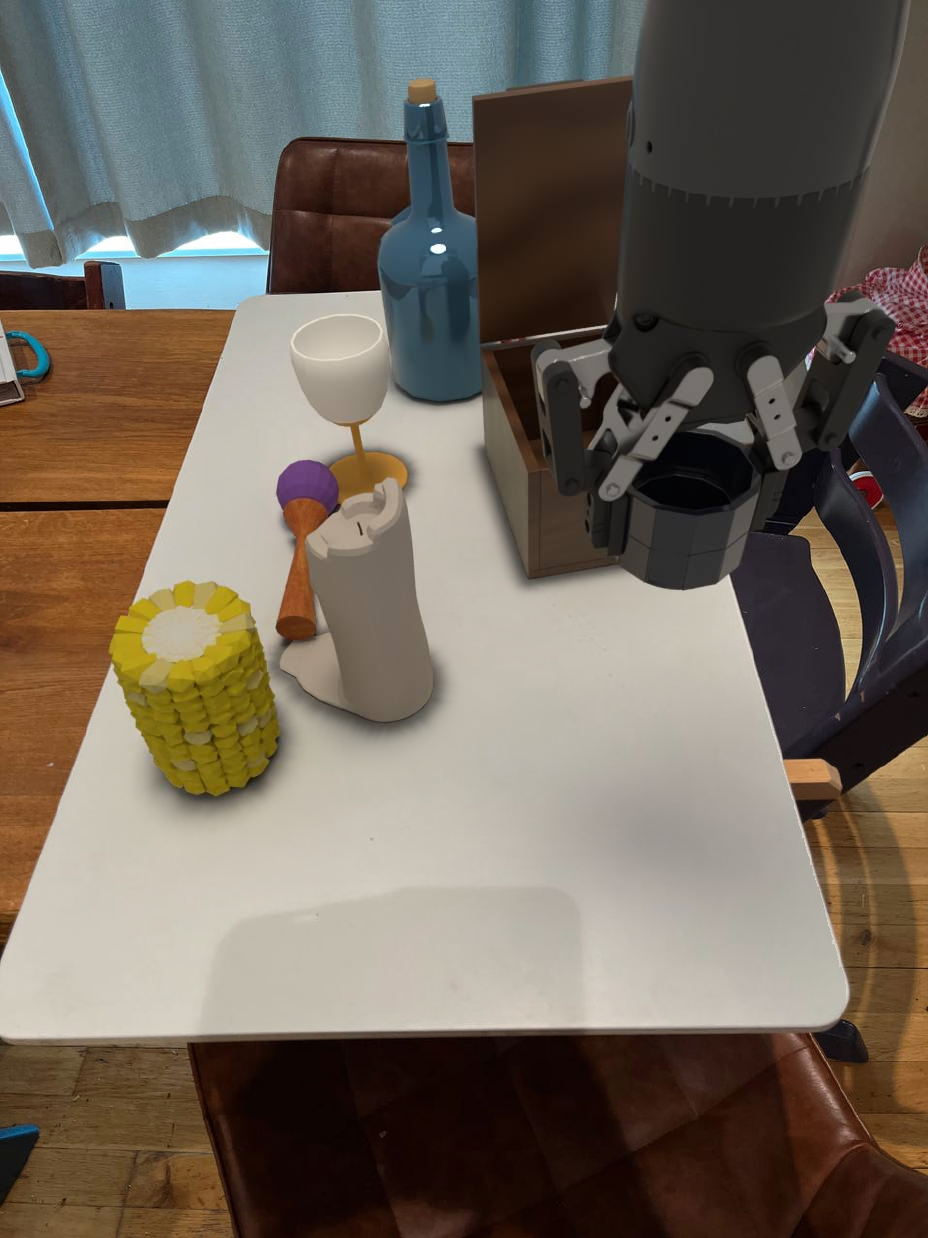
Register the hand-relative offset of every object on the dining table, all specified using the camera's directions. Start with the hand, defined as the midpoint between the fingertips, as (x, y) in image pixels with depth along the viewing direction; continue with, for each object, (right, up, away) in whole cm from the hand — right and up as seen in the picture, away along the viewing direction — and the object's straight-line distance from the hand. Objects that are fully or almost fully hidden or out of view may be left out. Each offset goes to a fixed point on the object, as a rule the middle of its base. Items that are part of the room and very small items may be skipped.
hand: (677, 531), depth 37 cm
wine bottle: (-12, +25, +57) cm, 64 cm away
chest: (0, +8, +40) cm, 41 cm away
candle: (-19, -9, +27) cm, 35 cm away
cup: (-20, +10, +44) cm, 50 cm away
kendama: (-25, +1, +36) cm, 44 cm away
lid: (-3, +29, +29) cm, 41 cm away
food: (-28, -14, +23) cm, 39 cm away
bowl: (0, -1, +1) cm, 1 cm away
